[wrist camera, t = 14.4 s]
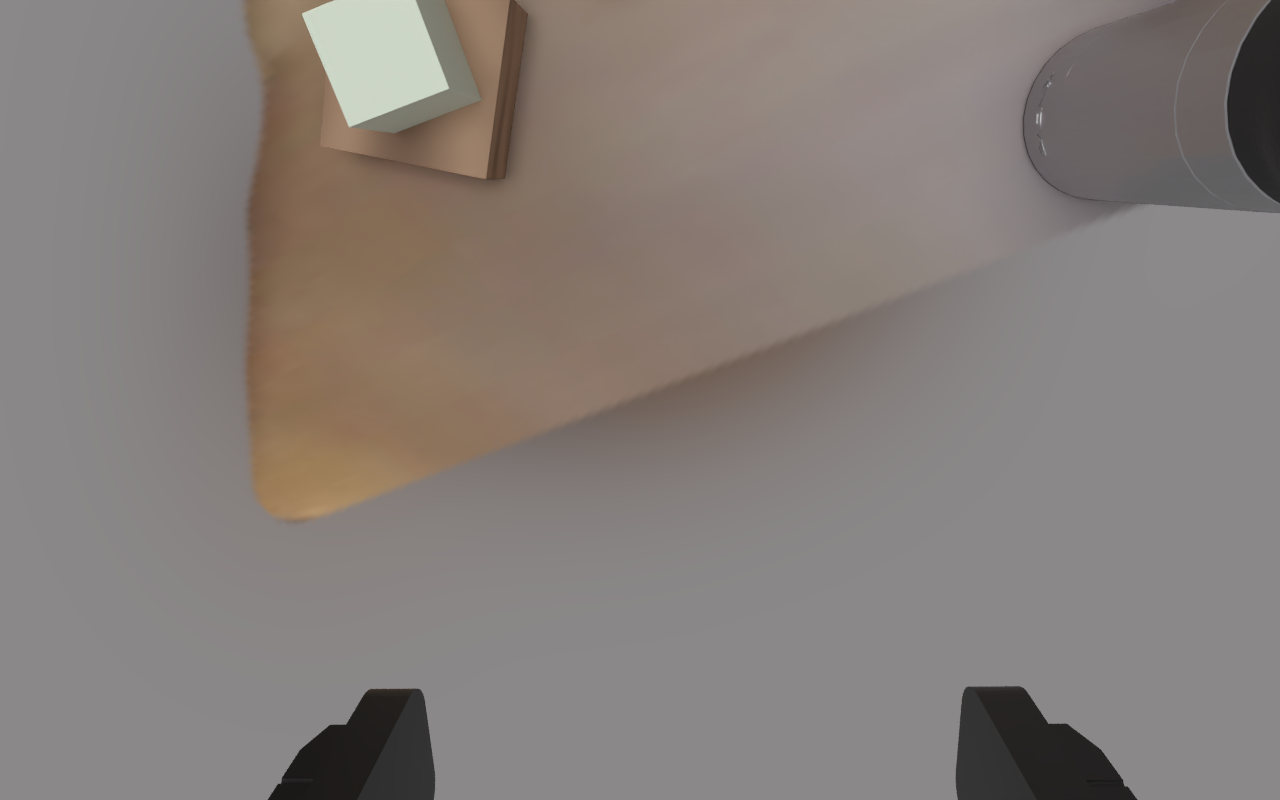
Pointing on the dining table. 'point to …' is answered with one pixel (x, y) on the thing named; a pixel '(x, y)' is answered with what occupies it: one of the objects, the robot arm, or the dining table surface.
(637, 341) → the dining table surface
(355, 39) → the sage cube
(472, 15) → the walnut block
